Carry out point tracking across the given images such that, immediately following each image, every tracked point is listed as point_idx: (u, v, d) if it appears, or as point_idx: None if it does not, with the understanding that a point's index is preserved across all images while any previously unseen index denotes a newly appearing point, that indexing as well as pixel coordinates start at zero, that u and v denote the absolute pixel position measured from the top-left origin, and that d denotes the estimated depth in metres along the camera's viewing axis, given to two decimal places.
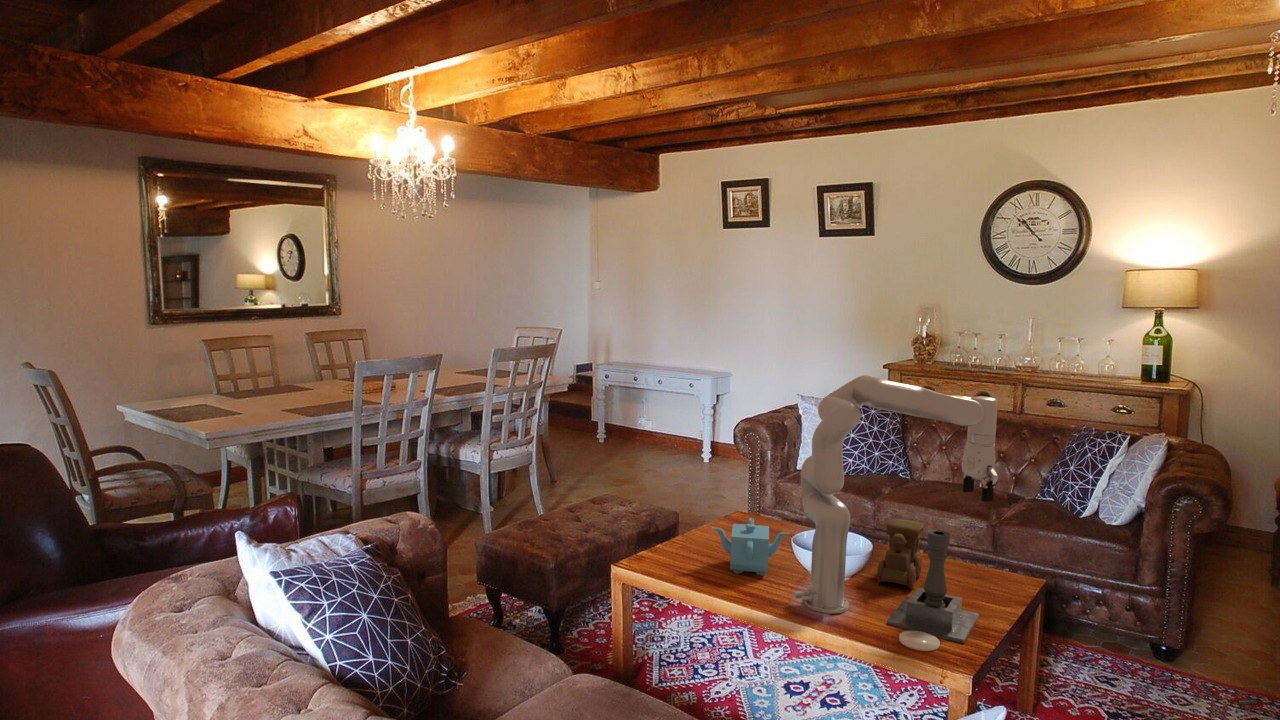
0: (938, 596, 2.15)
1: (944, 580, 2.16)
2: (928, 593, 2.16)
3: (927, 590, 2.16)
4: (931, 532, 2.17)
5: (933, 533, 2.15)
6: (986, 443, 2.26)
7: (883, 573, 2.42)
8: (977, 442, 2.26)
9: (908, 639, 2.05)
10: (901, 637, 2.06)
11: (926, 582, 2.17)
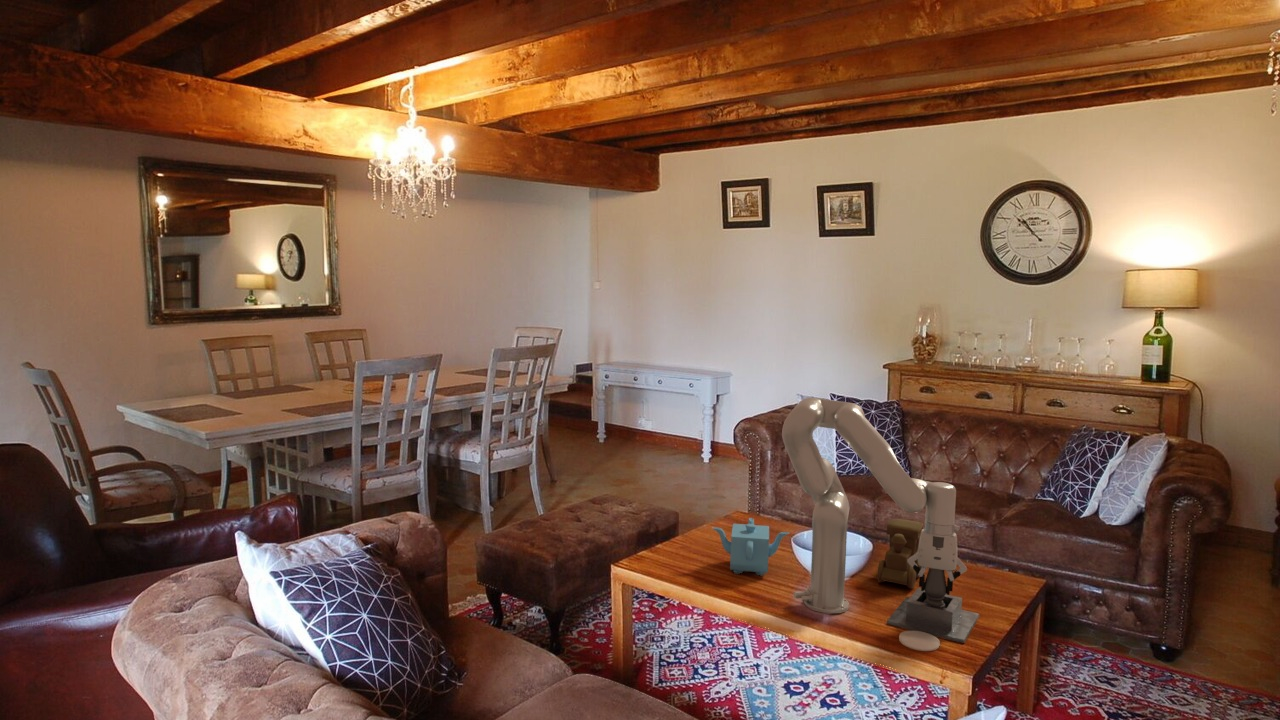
0: (938, 596, 2.15)
1: (944, 580, 2.16)
2: (928, 593, 2.16)
3: (927, 590, 2.16)
4: None
5: None
6: None
7: (883, 573, 2.42)
8: None
9: (908, 639, 2.05)
10: (901, 637, 2.06)
11: (926, 582, 2.17)
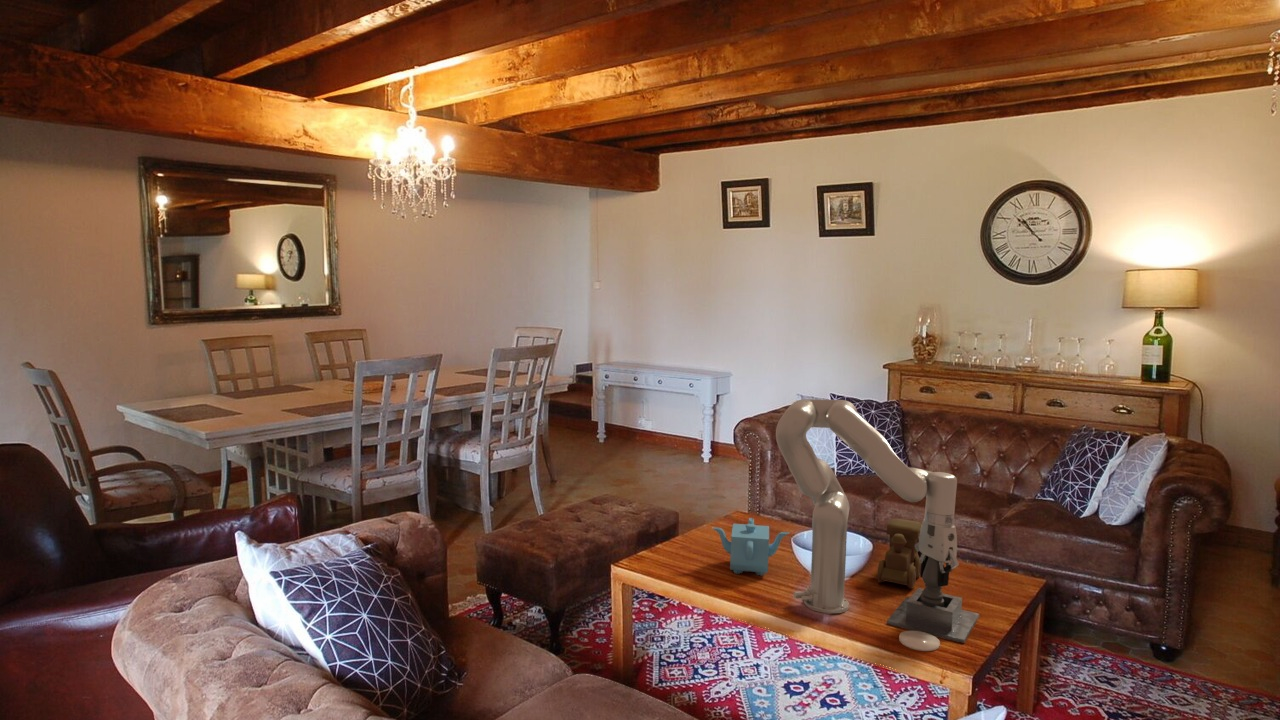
0: (929, 585, 2.16)
1: (938, 571, 2.15)
2: (923, 580, 2.18)
3: (922, 576, 2.18)
4: None
5: None
6: None
7: (883, 573, 2.42)
8: None
9: (908, 639, 2.05)
10: (901, 637, 2.06)
11: None
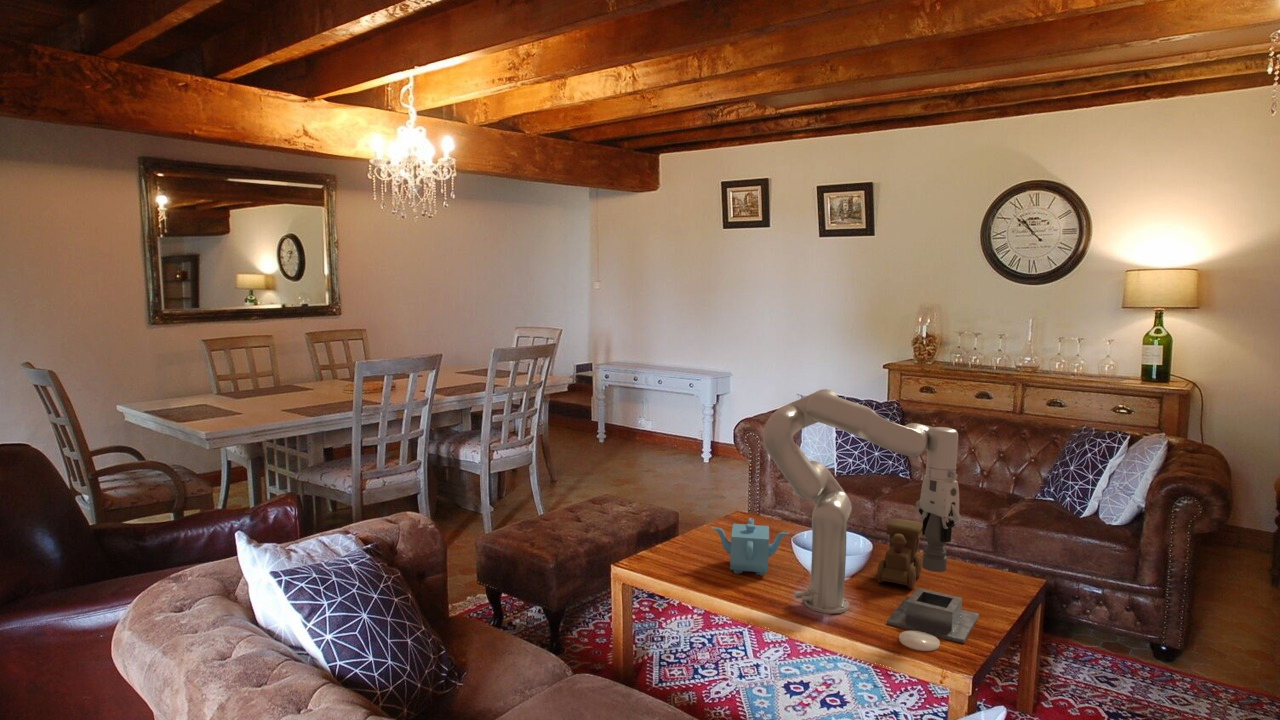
0: (932, 542, 2.13)
1: (940, 527, 2.12)
2: (925, 537, 2.15)
3: None
4: None
5: None
6: None
7: (883, 573, 2.42)
8: None
9: (908, 639, 2.05)
10: (901, 637, 2.06)
11: None
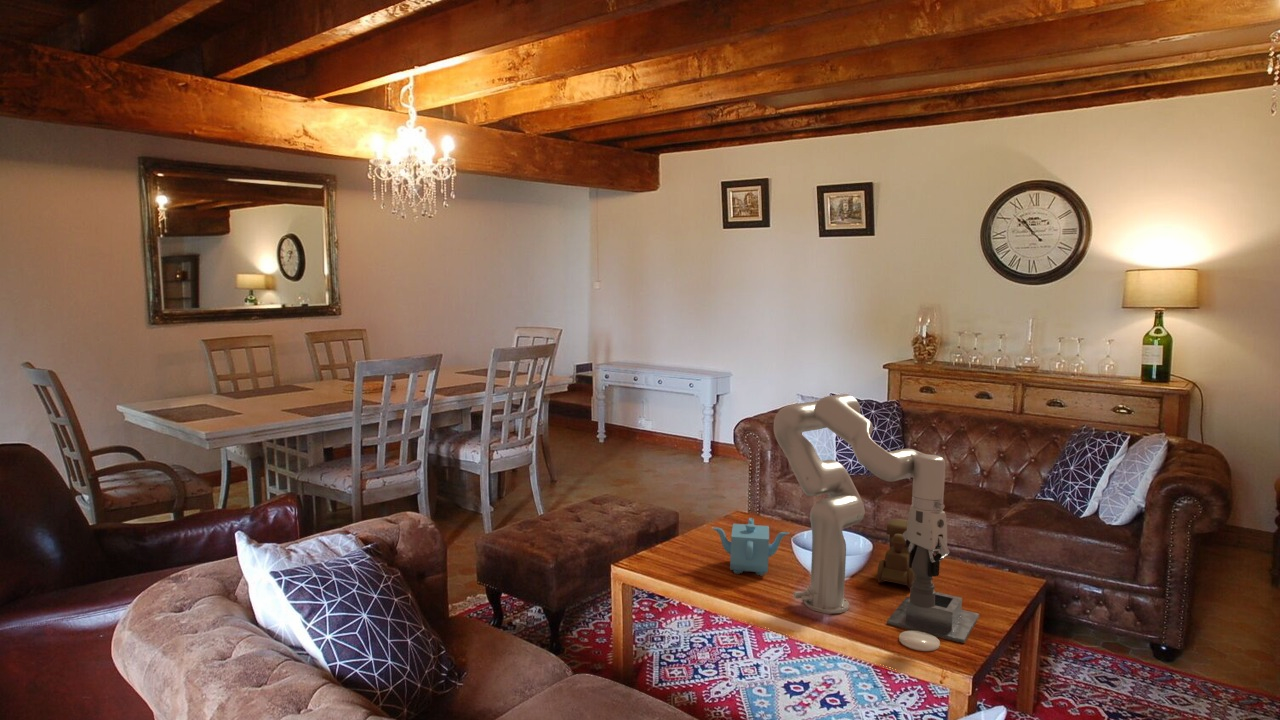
0: (919, 575, 2.01)
1: (928, 560, 2.00)
2: (912, 570, 2.04)
3: None
4: None
5: None
6: None
7: (883, 573, 2.42)
8: None
9: (908, 639, 2.05)
10: (901, 637, 2.06)
11: None
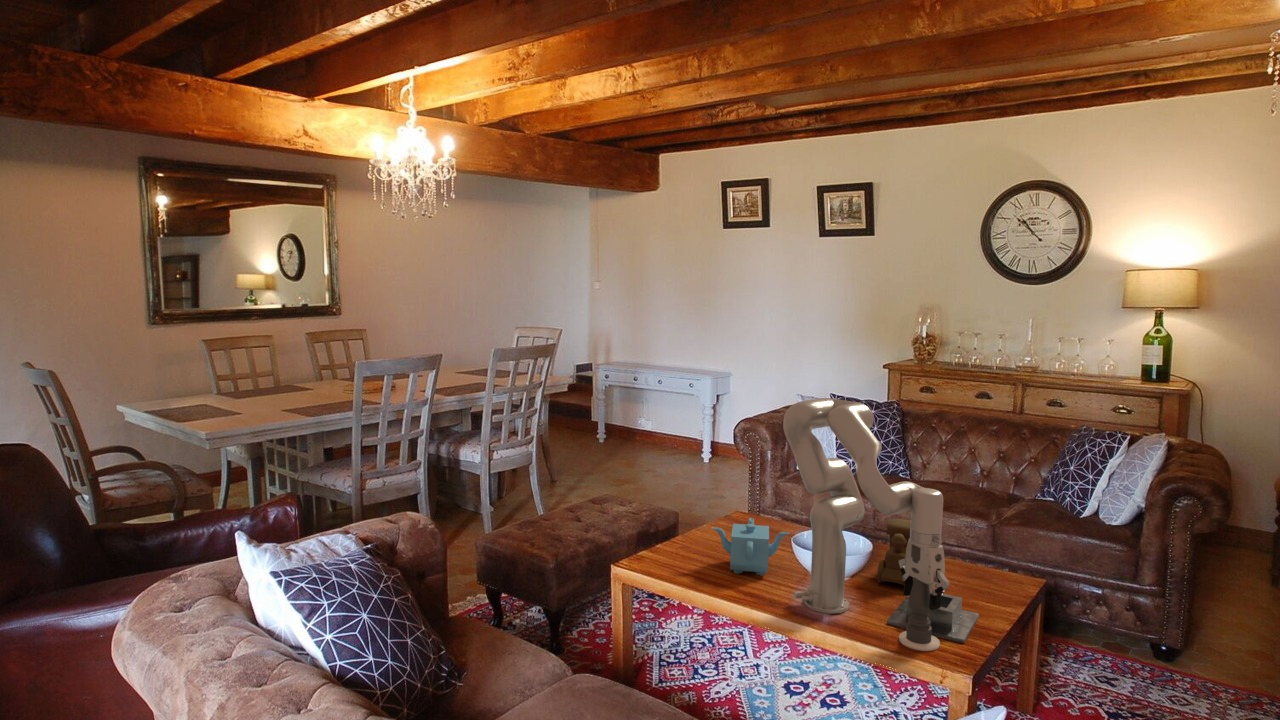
0: (915, 612, 2.03)
1: (924, 597, 2.02)
2: None
3: (908, 603, 2.05)
4: None
5: None
6: None
7: (883, 573, 2.42)
8: None
9: None
10: (901, 637, 2.06)
11: None
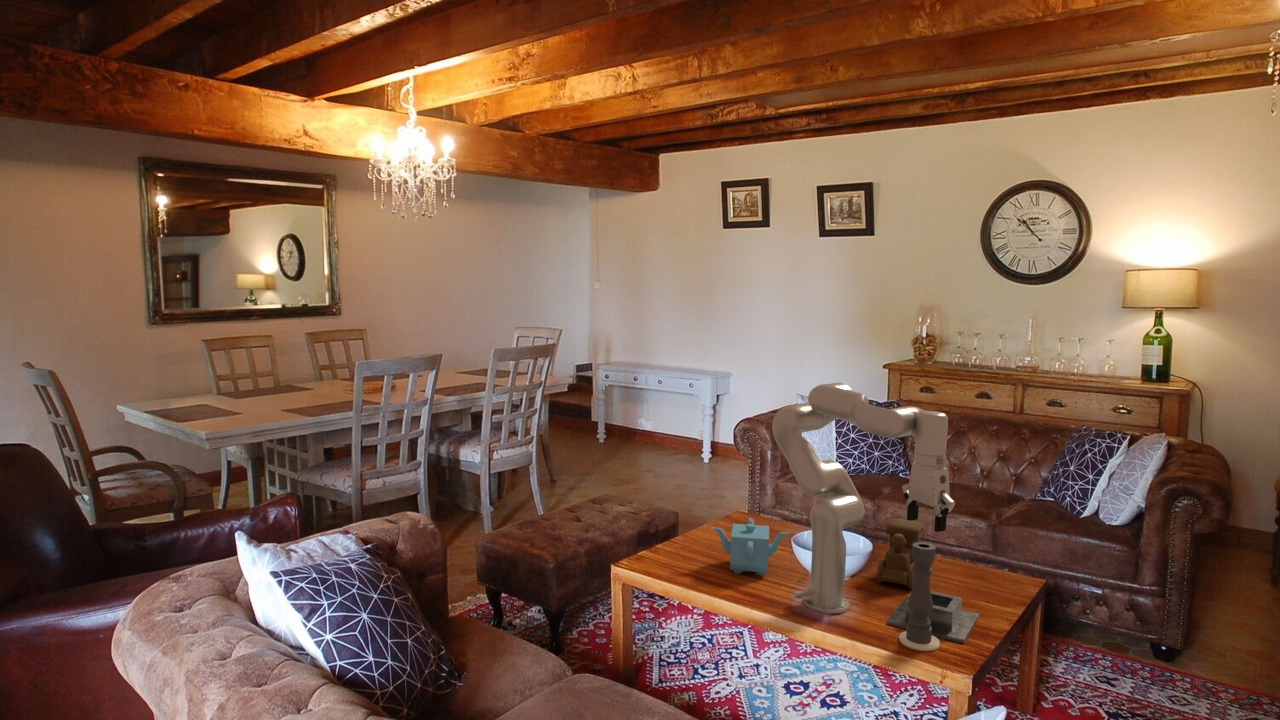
0: (916, 612, 2.03)
1: (924, 597, 2.02)
2: (909, 606, 2.05)
3: (908, 603, 2.05)
4: (917, 543, 2.05)
5: (916, 544, 2.03)
6: None
7: (883, 573, 2.42)
8: None
9: None
10: (901, 637, 2.06)
11: None
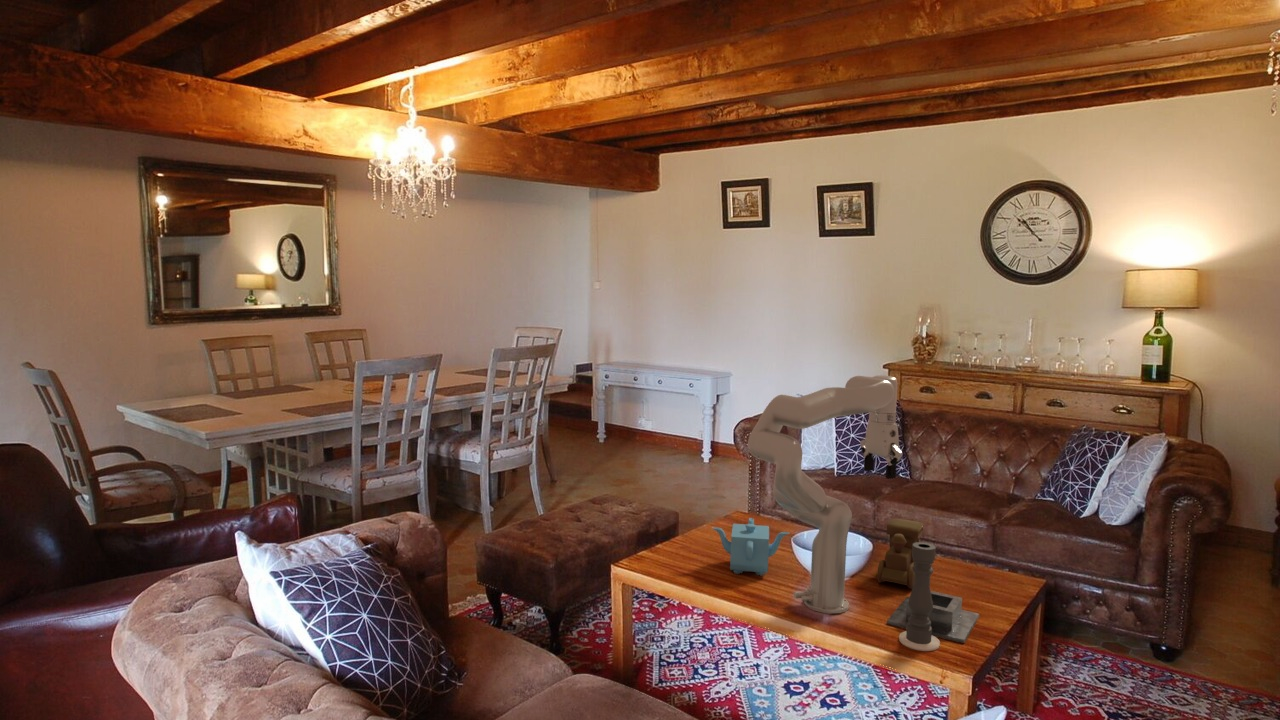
0: (916, 612, 2.03)
1: (924, 597, 2.02)
2: (909, 606, 2.05)
3: (908, 603, 2.05)
4: (917, 543, 2.04)
5: (916, 544, 2.03)
6: None
7: (883, 573, 2.42)
8: None
9: None
10: (901, 637, 2.06)
11: None
